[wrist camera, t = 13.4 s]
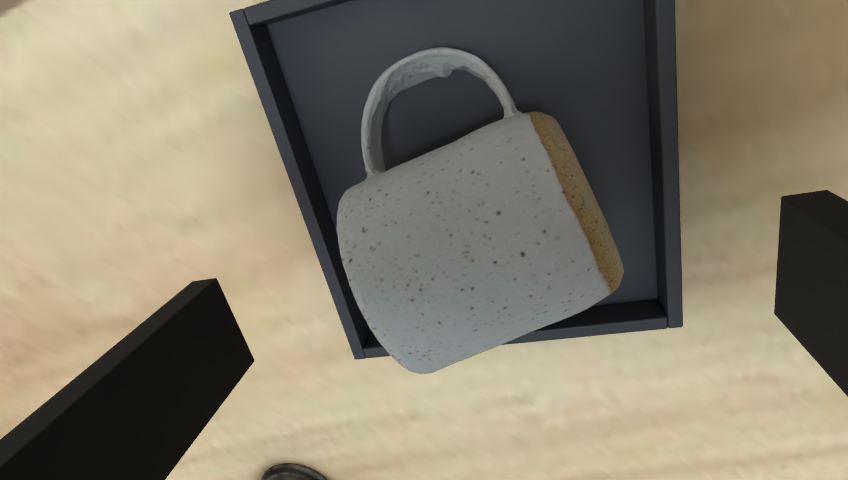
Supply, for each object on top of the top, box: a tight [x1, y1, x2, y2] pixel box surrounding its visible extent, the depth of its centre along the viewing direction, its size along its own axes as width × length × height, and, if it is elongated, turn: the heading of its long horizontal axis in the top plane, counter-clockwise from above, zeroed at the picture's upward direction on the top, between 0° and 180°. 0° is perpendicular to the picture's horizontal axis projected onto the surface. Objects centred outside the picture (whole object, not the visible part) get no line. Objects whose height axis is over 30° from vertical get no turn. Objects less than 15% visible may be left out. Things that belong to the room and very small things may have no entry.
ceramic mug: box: [337, 47, 624, 374], centre depth 17 cm, size 11×8×8 cm
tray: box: [229, 0, 683, 359], centre depth 20 cm, size 15×16×2 cm
